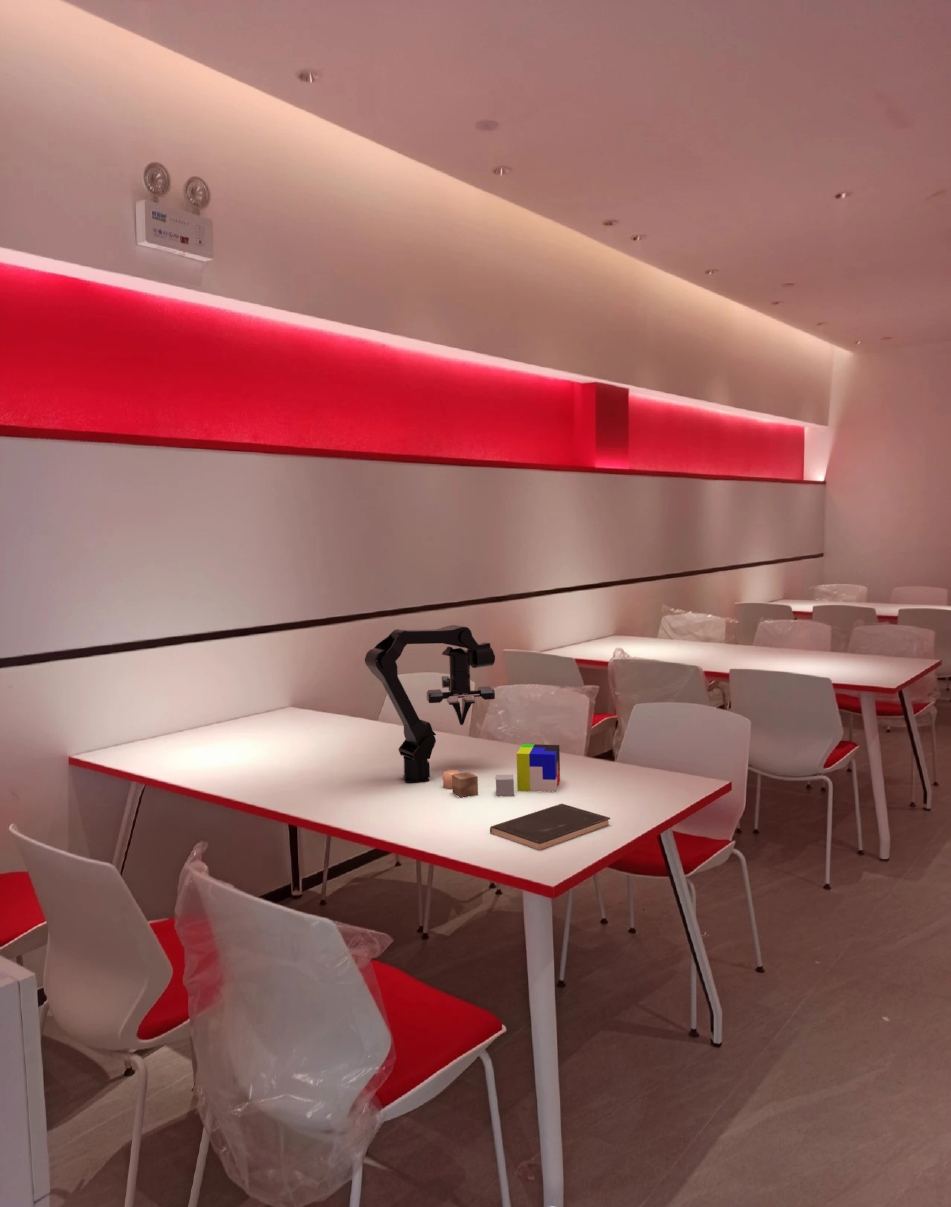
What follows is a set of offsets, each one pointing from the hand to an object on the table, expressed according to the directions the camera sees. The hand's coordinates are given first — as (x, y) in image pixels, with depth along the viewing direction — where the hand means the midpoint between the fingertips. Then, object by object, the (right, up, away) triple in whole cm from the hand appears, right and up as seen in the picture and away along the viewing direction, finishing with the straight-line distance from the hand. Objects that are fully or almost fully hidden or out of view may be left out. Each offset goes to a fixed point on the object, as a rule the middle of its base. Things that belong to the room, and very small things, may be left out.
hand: (461, 724), depth 267 cm
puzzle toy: (+21, -14, -16) cm, 30 cm away
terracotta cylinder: (-2, -15, -15) cm, 21 cm away
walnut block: (+1, -15, -22) cm, 27 cm away
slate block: (+12, -15, -23) cm, 30 cm away
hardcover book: (+21, -18, -50) cm, 58 cm away
